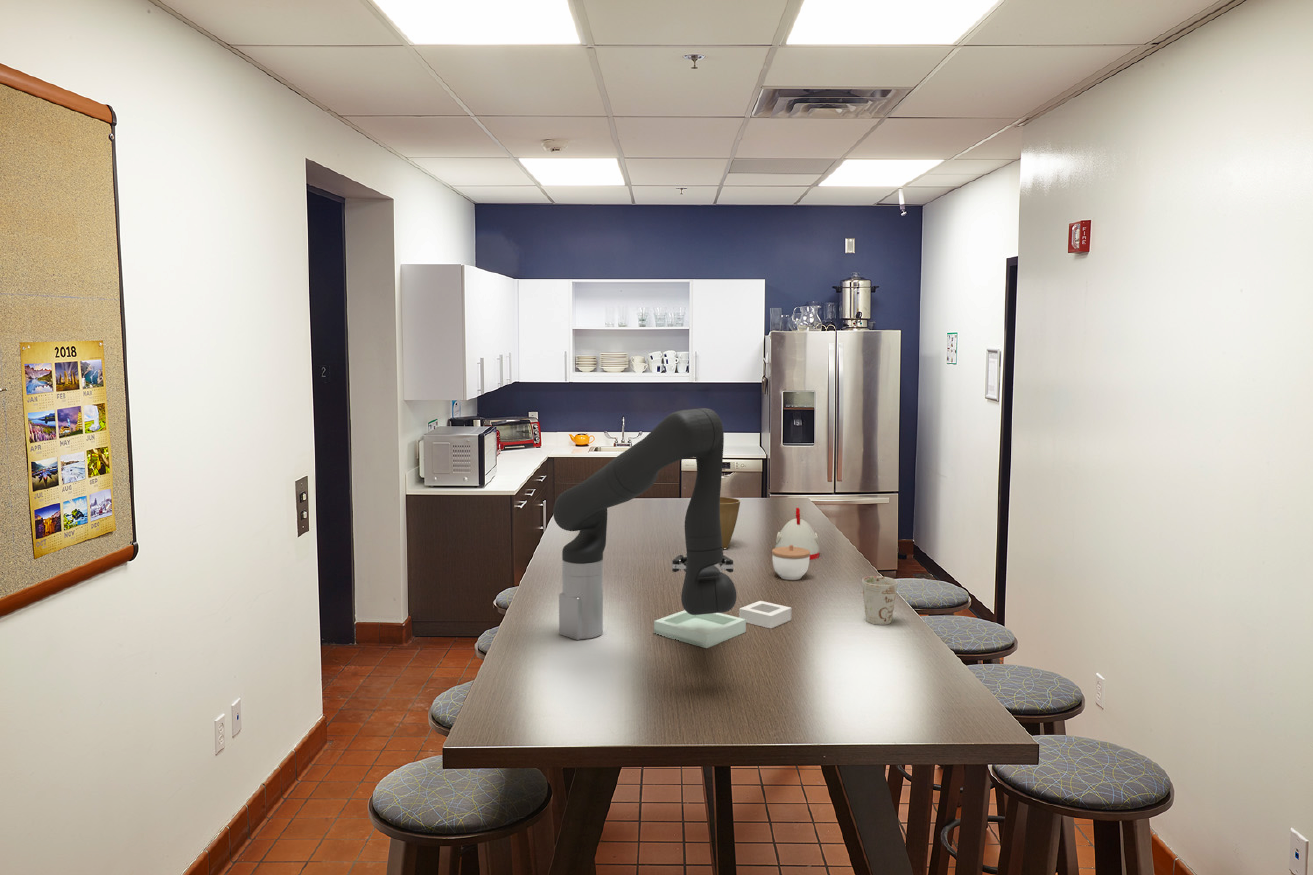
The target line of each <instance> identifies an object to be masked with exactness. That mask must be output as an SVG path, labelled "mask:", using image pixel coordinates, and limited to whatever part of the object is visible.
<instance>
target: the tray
mask: <svg viewBox="0 0 1313 875" xmlns="http://www.w3.org/2000/svg"><path fill="white" fill-rule="evenodd" d="M746 627H747V623H746V619H742V618H739V616H734V615H729V614H726V613H712V614H701V615H691V614H689V613H687V612H686V611H685V609H684V610H682V611H678V612H675V613H672V614H670V615H667V616H663V617H662V618H659V619H655V620H654V621H653V634H654V633H656V634H655V635H657V634H659V635H658V636H660V635H662V636H661V637H664V636H665V637H664V638H668V639H671V640H675V639H676V640H675V641H678V640H679V642H682V643H686V644H688V645H693V646H697V647H700V648H703V649H709V648H711V647H714V646H716V645H718V644H720V643H723V642H725V641H727V640H730V639H733V638H734V637H737V636H739V635H741V634H744V633H746Z"/></svg>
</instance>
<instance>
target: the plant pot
mask: <svg viewBox="0 0 1313 875" xmlns="http://www.w3.org/2000/svg"><path fill="white" fill-rule="evenodd" d="M740 504H741V500H740V499H738V498H734V497H727V496H720V524H721V534H722V547H723V549H724V548H727V549H728V547H729V545H730V543H731V540H732V537H733V534H734V531H735V528H736V524H737V519H738V516H739V511H740ZM724 550H725V549H724Z"/></svg>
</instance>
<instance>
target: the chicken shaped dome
mask: <svg viewBox="0 0 1313 875" xmlns="http://www.w3.org/2000/svg"><path fill="white" fill-rule="evenodd" d="M800 511H801V510H800V507H795V518H792V519H790V520H789V521H788V522H786V524H785V525H784V526H783V527H782V529H781V530H780V531H778V532H777V534H776V540H775V546H774V548H778V547H789V545H793V547H799V548H804V549H807V550H809V551H810V558H809V561H810V560H811V561H812V560H816V559H819V557H820V542H819V537H818V534H817V532H815V531H814V529H813V528H812V527H811V525H810V524H809V523H808V522H807V521H806V520H804V519H803V518H801V517H800V516H801V512H800Z"/></svg>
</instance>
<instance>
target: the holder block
mask: <svg viewBox="0 0 1313 875" xmlns="http://www.w3.org/2000/svg"><path fill="white" fill-rule="evenodd" d="M792 610H793V609H792V607H790V606H786V605H781V604H777V603H772V602H769V601H768V602H767V601H765V600H764V601H763V600H758V601H756V602H753V603H750V604H747V605H745V606H743V607H740V608H739V614H738V618H742V619H746V624H751V625H755V626H759V627H763V628H766V629H773V628H776V627H778V626H780V625H783V624H785V623H787V622H790V621H792Z"/></svg>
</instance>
